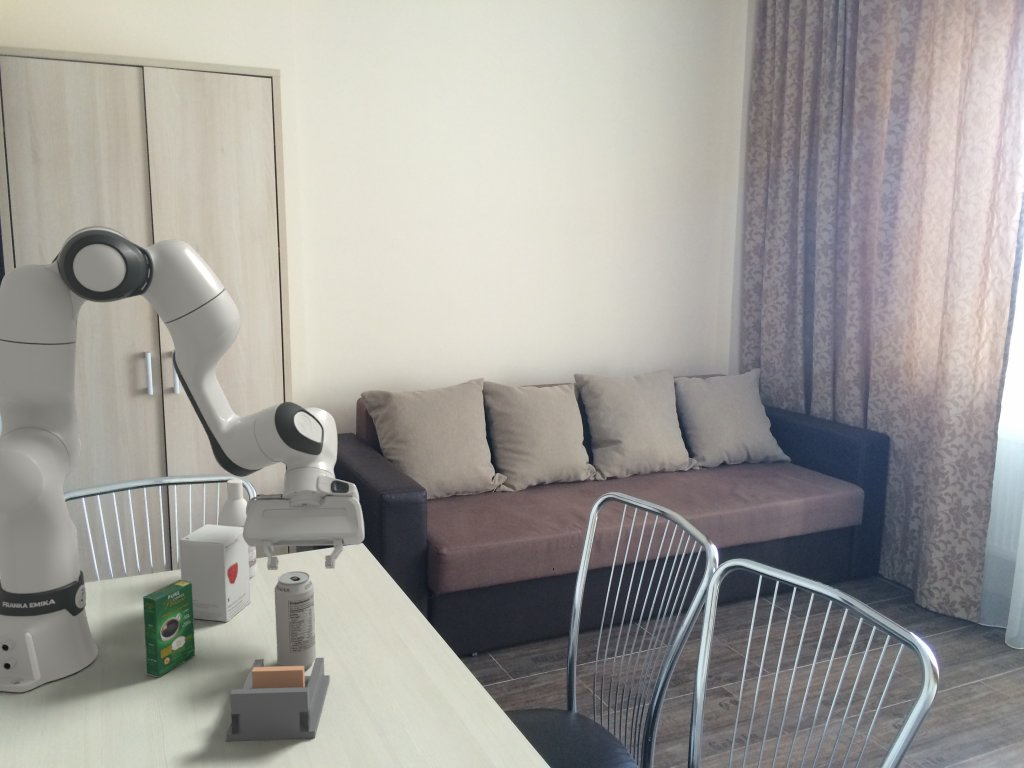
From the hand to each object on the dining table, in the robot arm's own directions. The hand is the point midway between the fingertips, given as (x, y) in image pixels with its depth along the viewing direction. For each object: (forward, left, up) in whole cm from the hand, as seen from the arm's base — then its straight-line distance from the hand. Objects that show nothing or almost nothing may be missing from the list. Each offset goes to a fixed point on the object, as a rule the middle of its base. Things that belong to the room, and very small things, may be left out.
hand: (301, 568), depth 140 cm
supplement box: (-18, +15, -14) cm, 27 cm away
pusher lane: (0, -19, -14) cm, 24 cm away
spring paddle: (0, -20, -13) cm, 24 cm away
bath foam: (-18, +31, -14) cm, 38 cm away
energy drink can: (0, -6, -14) cm, 15 cm away
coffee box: (-20, -5, -14) cm, 25 cm away
